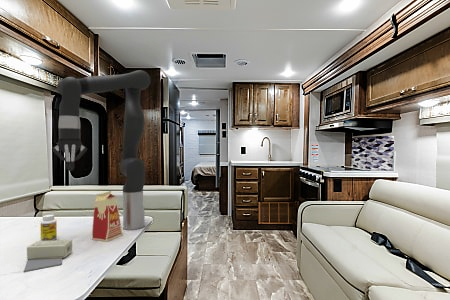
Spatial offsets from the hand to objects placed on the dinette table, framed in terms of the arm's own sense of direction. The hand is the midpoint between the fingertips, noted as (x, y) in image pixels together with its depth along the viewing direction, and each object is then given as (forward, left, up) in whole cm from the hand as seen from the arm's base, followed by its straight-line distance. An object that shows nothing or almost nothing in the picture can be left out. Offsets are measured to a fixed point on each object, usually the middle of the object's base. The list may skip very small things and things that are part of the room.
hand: (70, 170), depth 108 cm
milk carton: (-13, +1, -29) cm, 32 cm away
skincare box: (+1, +15, -26) cm, 30 cm away
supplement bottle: (+8, -8, -29) cm, 31 cm away
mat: (+8, +16, -29) cm, 34 cm away
